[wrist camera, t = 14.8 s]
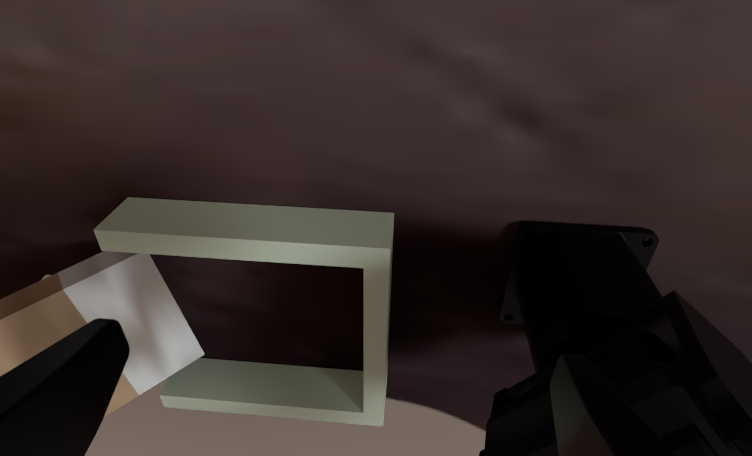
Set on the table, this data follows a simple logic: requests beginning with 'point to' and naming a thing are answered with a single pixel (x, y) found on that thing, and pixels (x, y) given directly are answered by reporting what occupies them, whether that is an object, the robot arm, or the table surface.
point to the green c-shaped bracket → (282, 245)
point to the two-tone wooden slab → (102, 300)
